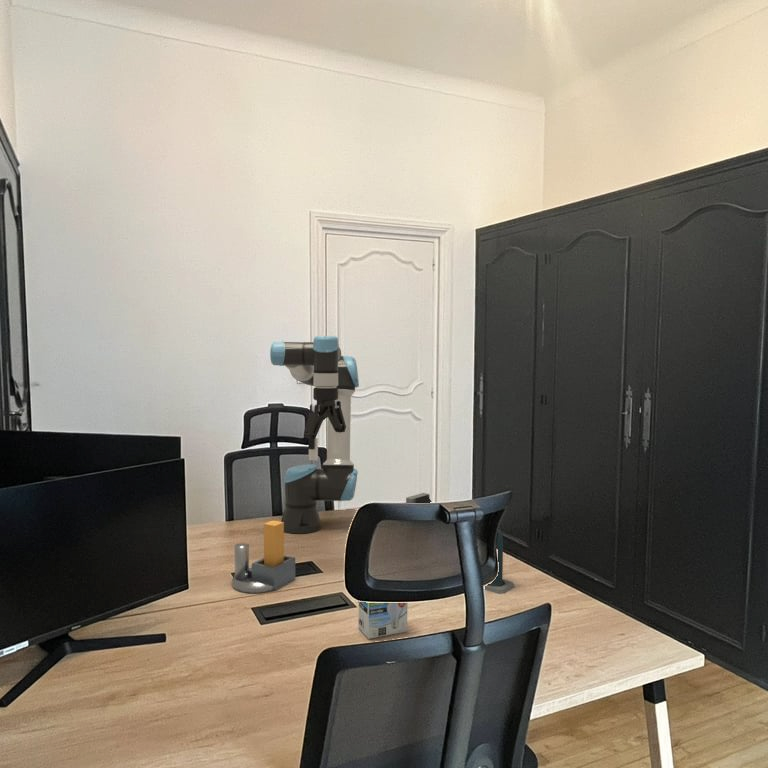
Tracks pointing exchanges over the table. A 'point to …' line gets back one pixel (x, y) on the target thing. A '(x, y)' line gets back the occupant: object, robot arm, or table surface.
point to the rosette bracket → (260, 573)
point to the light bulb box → (382, 618)
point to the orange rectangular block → (273, 543)
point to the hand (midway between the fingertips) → (325, 456)
